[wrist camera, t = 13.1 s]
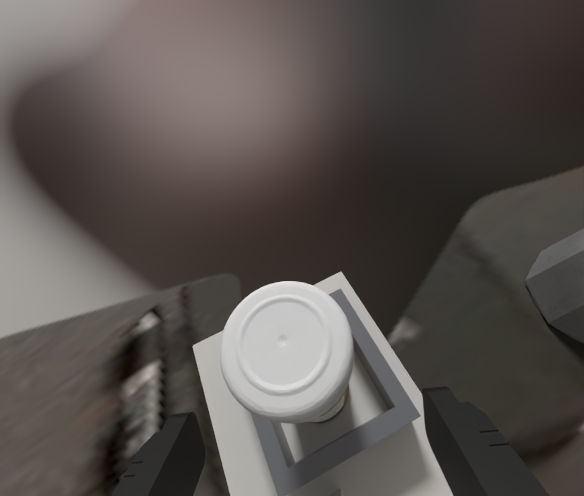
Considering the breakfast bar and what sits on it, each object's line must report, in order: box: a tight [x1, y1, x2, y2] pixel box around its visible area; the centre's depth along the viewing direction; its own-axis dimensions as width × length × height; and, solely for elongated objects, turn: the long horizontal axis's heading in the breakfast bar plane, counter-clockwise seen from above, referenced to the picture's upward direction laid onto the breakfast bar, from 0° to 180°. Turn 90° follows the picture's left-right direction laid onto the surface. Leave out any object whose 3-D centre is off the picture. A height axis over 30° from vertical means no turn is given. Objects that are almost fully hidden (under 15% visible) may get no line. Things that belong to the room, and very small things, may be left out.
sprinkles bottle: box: [220, 281, 354, 424], centre depth 15 cm, size 5×5×14 cm
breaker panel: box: [193, 272, 453, 496], centre depth 17 cm, size 14×24×5 cm, turn 25°
